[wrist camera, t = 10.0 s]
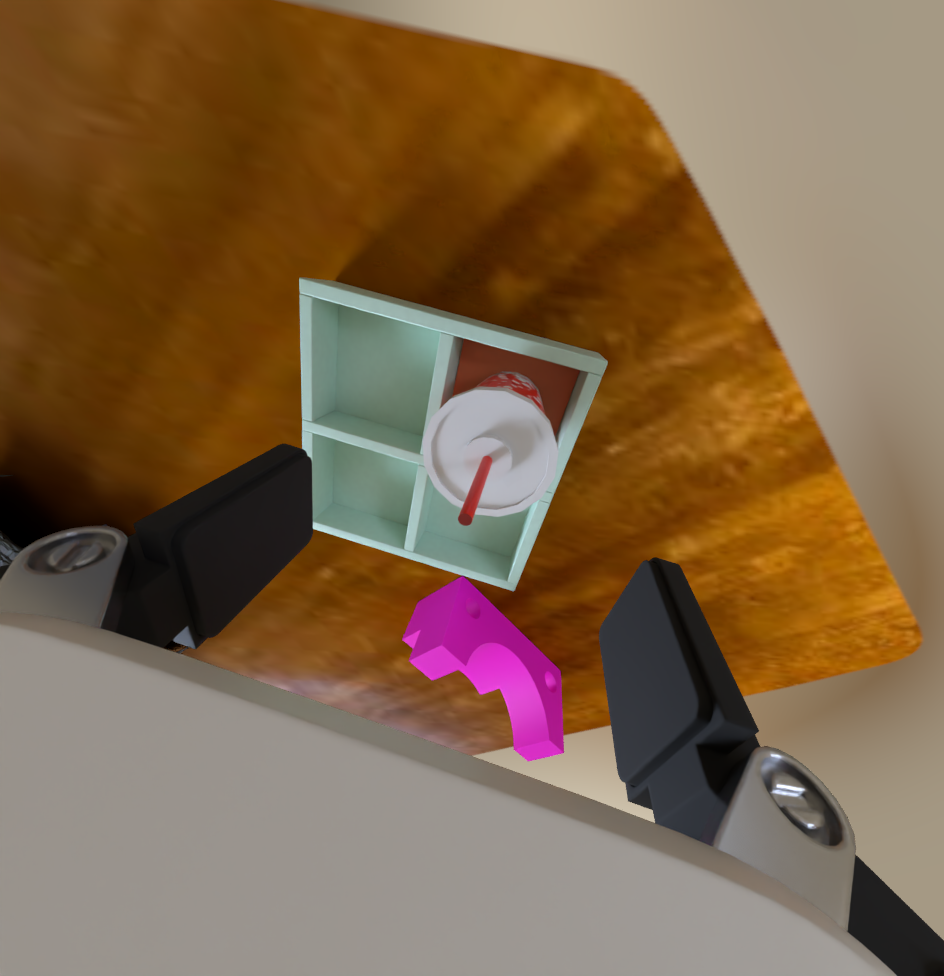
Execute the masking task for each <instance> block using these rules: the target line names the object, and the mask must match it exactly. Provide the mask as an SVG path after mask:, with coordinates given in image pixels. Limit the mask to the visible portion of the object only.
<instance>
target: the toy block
mask: <svg viewBox="0 0 944 976" xmlns="http://www.w3.org/2000/svg"><path fill="white" fill-rule="evenodd" d="M402 640H403V641H404V642H406V643H407V644H408V645H409V646H410V647H411V648H413V651H412V654H411V656H410V659H409V662H411V663H412V664H413V665H414V666H415V667H417V668H418V669H419V670H420V671H421V672H423V673H424V674H425V675H426V676H427V677H429V678H430V679H431V680H432V681H433V680H435V679H438V678H440V677H442V676H445V675H447V674H449V673H452V672H454V671H456V670H460V671H461V672H463V673H464V674H465V675H466V676H467V677H468V678H469V679H470V680H471V682H472V683H473V684H474V686H475V687H476V689H477V690H478V692H479V694H480V695H482V694H485V693H487V692H490V691H493V690H496V689H498V688H500V690H501V692H502V694H503V697H504V699H505V702H506V704H507V708H508V711H509V715H510V719H511V724H512V730H513V740H514V750H515V751H516V752H518V753H519V754H520V755H521V756H522V757H524V758H525V759H526V760H527V761H532V760H536V759H541V758H545V757H549V756H553V755H558V754H561V753H564V744H563V743H564V742H563V717H562V692H561V671H560V670H559V669H558V668H557V667H556V666H555V665H554V664H553V663H552V662H551V661H550V660H549V659H548V658H547V657H546V656H545V655H544V654H543V653H542V652H541V651H540V650H539V649H538V648H537V647H536V646H535V645H534V644H533V643H532V642H531V641H530V640H528V639H527V638H526V637H525V636H524V635H523V634H522V633H521V632H520V631H519V630H518V629H517V628H516V627H515V626H514V625H513V624H512V623H511V622H510V621H509V620H508V619H507V618H506V617H505V616H504V615H503V614H502V613H501V612H500V611H499V610H498V609H497V608H496V607H495V606H494V605H493V604H492V603H491V602H490V601H488V600H487V599H486V598H485V597H484V596H483V595H482V594H481V593H480V592H479V591H478V590H477V589H476V588H475V587H474V586H473V585H472V584H471V583H470V582H469V581H468V580H467V579H466V578H465V577H464V576H461V577H460V578H458V579H456V580H455V581H453V582H451V583H449V584H448V585H446V586H444V587H443V588H441V589H439V590H438V591H436V592H434V593H432V594H431V595H429V596H427V597H426V598H424V599H422V600H421V601H419V602H418V604H417V606H416V608H415V611H414V613H413V615H412V618H411V620H410V622H409V625H408V627H407V629H406V632H405V634H404V636H403V639H402Z"/></svg>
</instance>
